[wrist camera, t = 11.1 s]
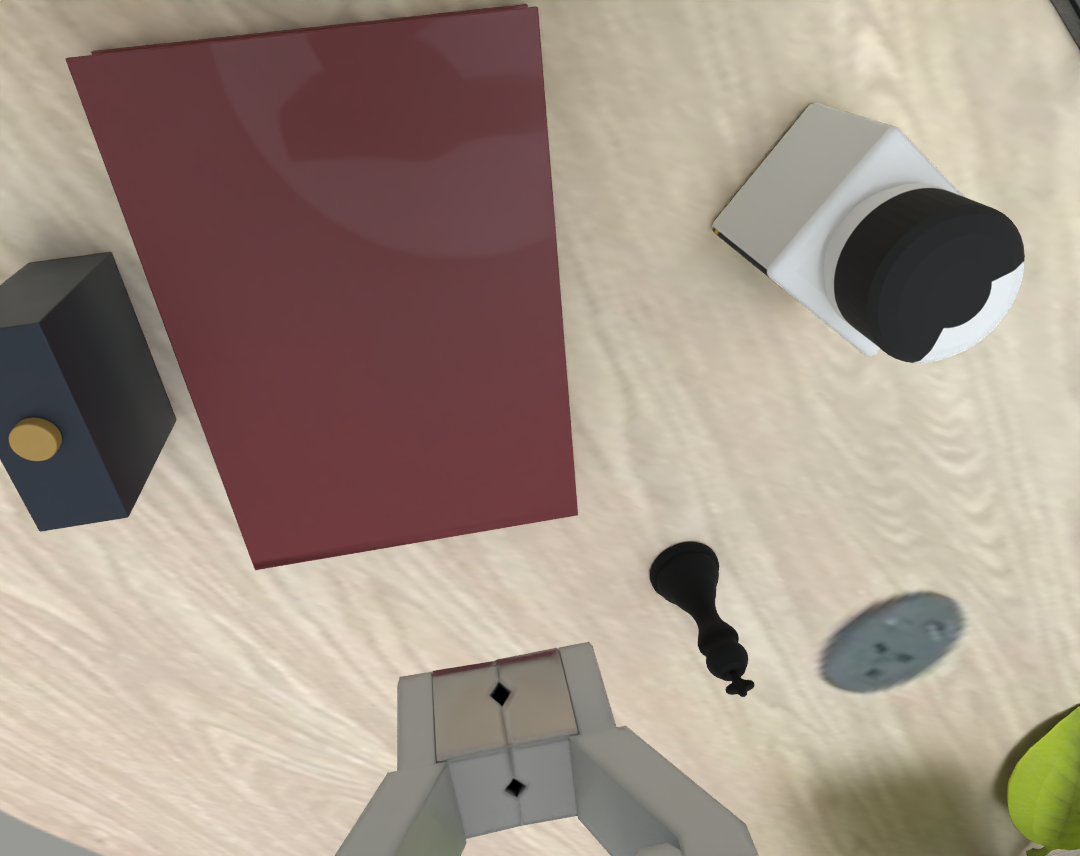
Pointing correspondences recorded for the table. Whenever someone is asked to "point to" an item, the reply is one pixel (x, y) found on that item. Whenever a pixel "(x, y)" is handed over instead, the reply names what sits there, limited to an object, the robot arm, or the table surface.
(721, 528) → the table surface
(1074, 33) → the phone
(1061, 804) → the artificial plant
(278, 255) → the burgundy book
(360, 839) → the robot arm
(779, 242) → the medicine bottle
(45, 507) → the alarm clock
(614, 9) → the table surface
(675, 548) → the chess piece
